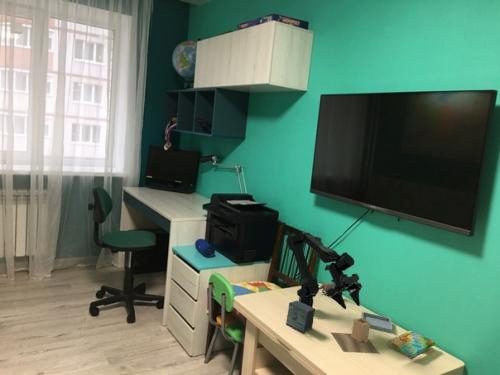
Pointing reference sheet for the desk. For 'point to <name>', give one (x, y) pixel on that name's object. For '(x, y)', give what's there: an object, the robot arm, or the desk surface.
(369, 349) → the walnut stake base
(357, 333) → the wooden pen holder
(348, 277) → the robot arm
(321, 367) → the desk surface
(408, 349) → the puzzle game
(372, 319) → the grey tray
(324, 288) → the dinosaur figurine
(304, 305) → the small box
